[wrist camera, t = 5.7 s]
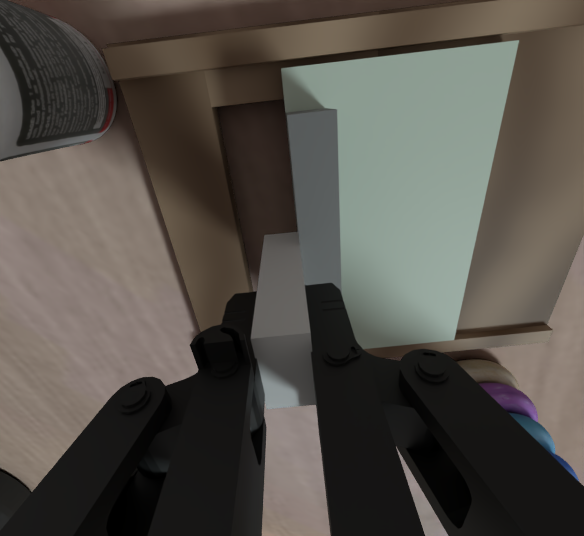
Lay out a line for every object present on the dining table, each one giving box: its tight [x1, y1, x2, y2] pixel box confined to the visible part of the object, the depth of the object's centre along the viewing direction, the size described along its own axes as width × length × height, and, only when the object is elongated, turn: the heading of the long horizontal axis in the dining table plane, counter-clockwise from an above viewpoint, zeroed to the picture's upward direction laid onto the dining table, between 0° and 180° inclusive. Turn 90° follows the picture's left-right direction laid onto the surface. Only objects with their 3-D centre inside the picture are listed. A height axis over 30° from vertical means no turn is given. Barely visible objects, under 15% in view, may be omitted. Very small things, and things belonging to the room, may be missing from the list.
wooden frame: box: [102, 0, 584, 358], centre depth 16 cm, size 22×18×2 cm
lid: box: [281, 40, 519, 349], centre depth 14 cm, size 9×15×4 cm, turn 6°
